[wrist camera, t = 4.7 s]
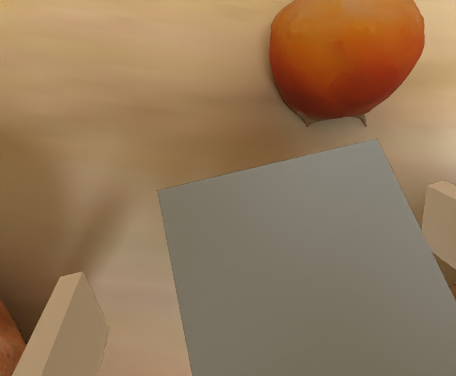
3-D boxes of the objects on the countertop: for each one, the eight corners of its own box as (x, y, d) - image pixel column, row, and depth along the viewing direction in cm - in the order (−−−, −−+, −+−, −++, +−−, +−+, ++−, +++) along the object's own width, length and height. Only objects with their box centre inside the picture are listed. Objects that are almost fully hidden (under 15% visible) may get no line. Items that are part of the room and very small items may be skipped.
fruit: (293, 166, 17) (300, 1, 12) (258, 108, 23) (254, -17, 18) (427, 142, 18) (488, -26, 13) (359, 92, 24) (382, -34, 19)
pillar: (222, 358, 15) (212, 483, 5) (200, 258, 17) (157, 190, 6) (317, 331, 16) (498, 389, 5) (286, 236, 17) (377, 138, 7)
